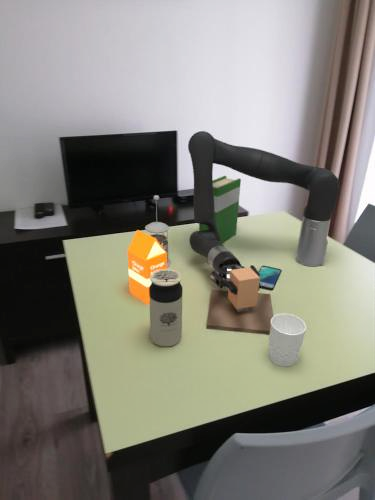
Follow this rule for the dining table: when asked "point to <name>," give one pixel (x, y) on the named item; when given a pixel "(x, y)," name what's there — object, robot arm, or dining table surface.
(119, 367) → the dining table surface
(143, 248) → the orange juice
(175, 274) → the travel mug
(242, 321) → the post base
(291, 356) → the white cup
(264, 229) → the dining table surface
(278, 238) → the dining table surface
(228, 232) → the hardback book
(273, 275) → the smartphone
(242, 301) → the tall peach pillar
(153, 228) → the french press
